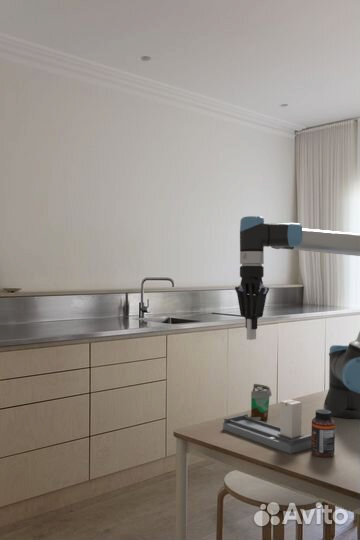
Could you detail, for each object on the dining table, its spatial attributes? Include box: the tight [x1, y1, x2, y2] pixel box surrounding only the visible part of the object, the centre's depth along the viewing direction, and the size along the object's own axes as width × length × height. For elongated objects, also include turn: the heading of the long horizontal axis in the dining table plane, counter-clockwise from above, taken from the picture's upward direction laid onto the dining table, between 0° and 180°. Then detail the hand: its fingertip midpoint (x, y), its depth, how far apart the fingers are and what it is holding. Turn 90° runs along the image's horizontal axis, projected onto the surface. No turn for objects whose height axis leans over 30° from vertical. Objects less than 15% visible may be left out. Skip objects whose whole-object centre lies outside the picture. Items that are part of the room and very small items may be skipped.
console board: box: [222, 413, 312, 455], centre depth 152 cm, size 10×26×3 cm, turn 38°
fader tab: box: [278, 399, 305, 440], centre depth 145 cm, size 5×5×10 cm
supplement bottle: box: [310, 408, 336, 458], centre depth 139 cm, size 6×6×11 cm
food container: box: [250, 383, 273, 422], centre depth 171 cm, size 12×6×10 cm, turn 168°
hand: (251, 339), depth 168 cm, fingers closed
